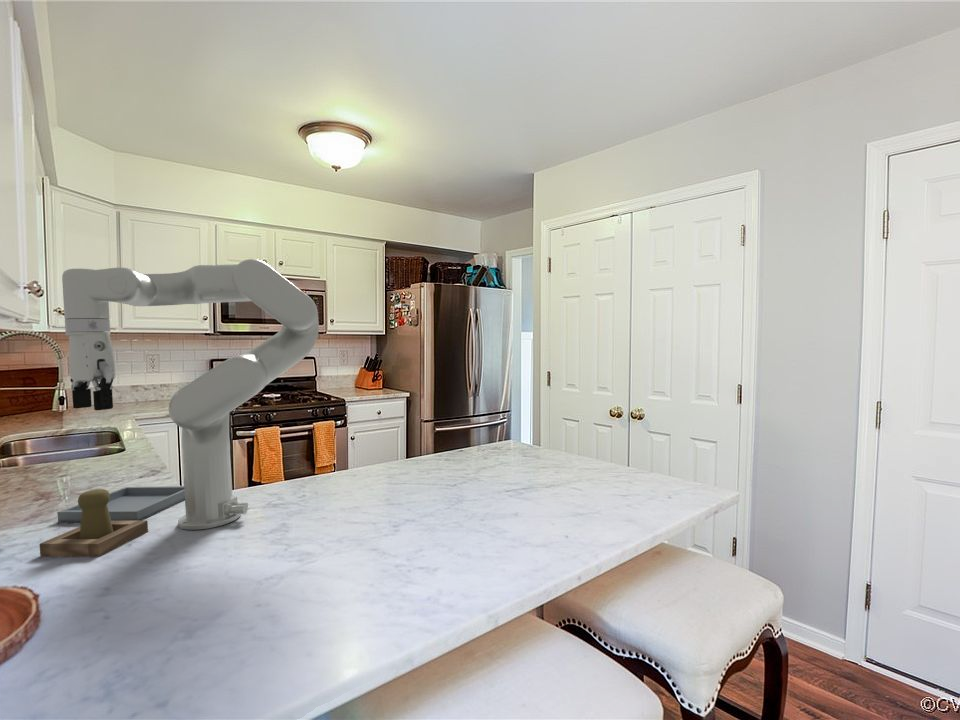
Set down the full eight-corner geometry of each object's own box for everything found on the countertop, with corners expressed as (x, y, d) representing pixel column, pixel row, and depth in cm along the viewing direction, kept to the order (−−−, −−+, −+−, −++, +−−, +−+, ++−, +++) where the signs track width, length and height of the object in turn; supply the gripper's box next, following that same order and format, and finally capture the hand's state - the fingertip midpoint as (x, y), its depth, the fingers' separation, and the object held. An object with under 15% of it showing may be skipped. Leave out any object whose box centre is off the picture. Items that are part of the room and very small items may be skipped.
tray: (195, 495, 134) (194, 486, 134) (137, 522, 115) (137, 511, 114) (126, 495, 136) (125, 486, 136) (58, 522, 116) (57, 511, 116)
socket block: (148, 531, 108) (147, 520, 108) (99, 556, 96) (98, 543, 96) (95, 531, 109) (94, 520, 109) (40, 556, 97) (39, 543, 97)
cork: (95, 550, 99) (91, 495, 99) (70, 548, 100) (66, 494, 100) (122, 538, 105) (119, 486, 104) (98, 537, 106) (95, 486, 106)
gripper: (128, 326, 105) (132, 408, 105) (90, 330, 113) (94, 405, 114) (85, 326, 98) (90, 412, 99) (48, 329, 107) (53, 409, 108)
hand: (92, 408), depth 106 cm, fingers open, 9 cm apart
